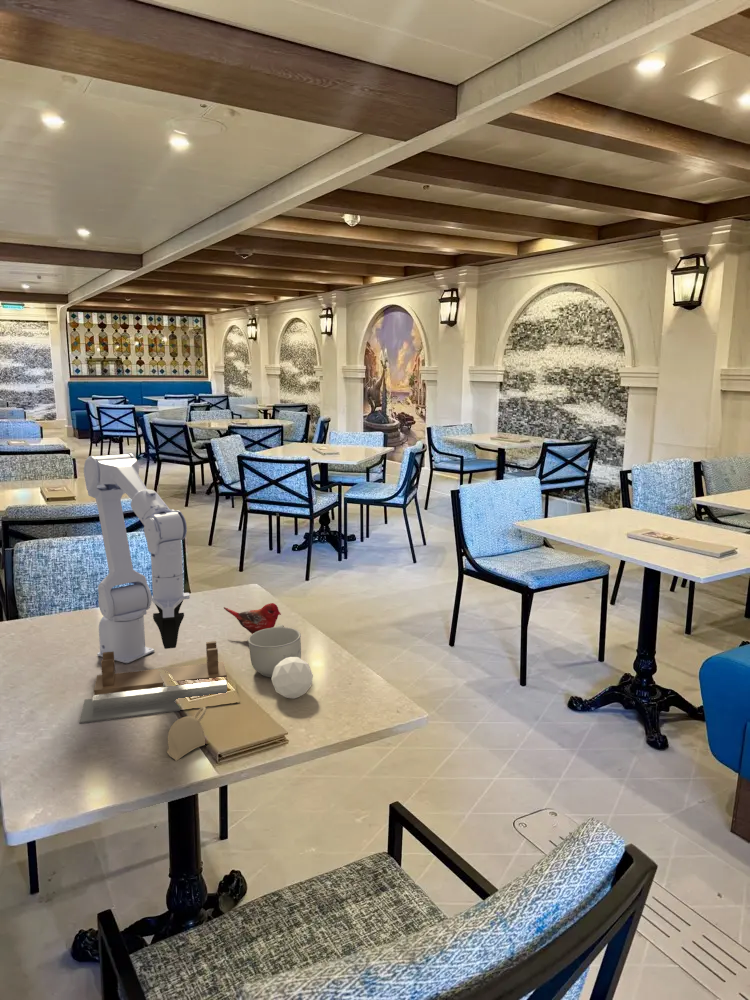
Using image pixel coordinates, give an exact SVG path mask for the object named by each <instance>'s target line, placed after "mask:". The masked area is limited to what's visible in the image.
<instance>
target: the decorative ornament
mask: <svg viewBox="0 0 750 1000" xmlns="http://www.w3.org/2000/svg"><path fill="white" fill-rule="evenodd" d="M206 712H207V707H206V708H205V707H202V708H198V710H197V711H196V712H195V713H194V715H193V716H191V715H188V716H183V717H180V718H179V719H176V720H175V721H174V722H173V723H172V725H170V728H169V731H168V732H167V733H168V734H167V742H168V743H167V745H168V749H167V750H166V752H167V754H168V756H169V757H170V758H172V759H173V760H175V761H176V762H177V761H179V760H180V759H181V758H182V757H184V756H185V755H186V754H188V753H190V752H191V751H193V750H194V749H198V748H200V747H202V746H206V745H205V739H206V737H205V731H204V729H203V726H202V724H201V721H202V720H203V718H204V716H205V715H206ZM200 713H201V714H200ZM197 717H198V718H197Z"/></svg>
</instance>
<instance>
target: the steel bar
mask: <svg viewBox="0 0 750 1000" xmlns="http://www.w3.org/2000/svg"><path fill="white" fill-rule="evenodd" d="M227 683H228V682H227V680H218V681H210V682H201V683H193V684H184V685H176V686H167V687H159V688H150V689H142V690H133V691H125V692H116V693H108V694H99V695H94V694H93V696H92V699H93V700H92V701H93V712H95V711H103V710H111V709H119V708H127V707H135V706H143V705H152V704H160V703H168V702H174V701H175V700H176V699H178V698H185V697H192V696H203V695H209V694H218V693H226V692H227Z"/></svg>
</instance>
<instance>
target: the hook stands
mask: <svg viewBox="0 0 750 1000" xmlns="http://www.w3.org/2000/svg"><path fill="white" fill-rule="evenodd" d="M205 645H206V646H205V647H206V648H205V649H206V651H205V653H206V663H200V664H190V665H182V666H181V665H180V666H172V667H163V668H162V667H161V668H154V669H153V668H152V669H145V670H136V671H135V670H134V671H126V672H117V673H116V670H115V669H116V668H115V660H114V651H113V652H103V657H102V659H101V661H100V663H101V674H99V675H98V674H97V675H96V678H95V682H94V683H95V684H94V689H93V695H99V694H108V693H116V692H125V691H133V690H142V689H150V688H159V687H163V683H164V681H163V680H162V678H161V676H160V673H161V672H160V671H158V670H161V669H162V670H164V671H165V670H166V671H168V672H169V673H170V674H171V675H172V676H173V679H174V680H173V679H172V680H173V681H185V680H197V679H198V680H199V679H209V678H216V677H227V670H226V666H225V662H224V661H219V653H218V652H219V649H218V647H217V641H216V640H214V641H213V640H212V641H205ZM166 671H165V673H166ZM168 672H167V673H168ZM170 680H171V679H170ZM169 682H170V681H169ZM171 682H172V681H171Z"/></svg>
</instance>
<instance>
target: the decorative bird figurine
mask: <svg viewBox="0 0 750 1000" xmlns="http://www.w3.org/2000/svg"><path fill="white" fill-rule="evenodd" d="M223 609H224V611H226V612H227V613H229V614H230V615H232V616H233V617H235V618H236V620H237V622H239V624H240V626H242V627H243V629H246V630H247V631H248V632H249V633H250V634H251V635H252V634H253V633H255V632H257V631H260V630H262V629H267V628H273V627H276V626H275V625H276V623H277V620H278V617H279V616H280V615H281V616H282V613H281V612H280V610H279V607H278V605H277V604H276V603H274V602H270V603H267V604H264V605H263V606H262V607H261V608H259V609H251V610H250V609H249V610H245V611H241V612H237V611H235V610H232V609H231V608H227V607H225V606H224V607H223Z"/></svg>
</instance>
